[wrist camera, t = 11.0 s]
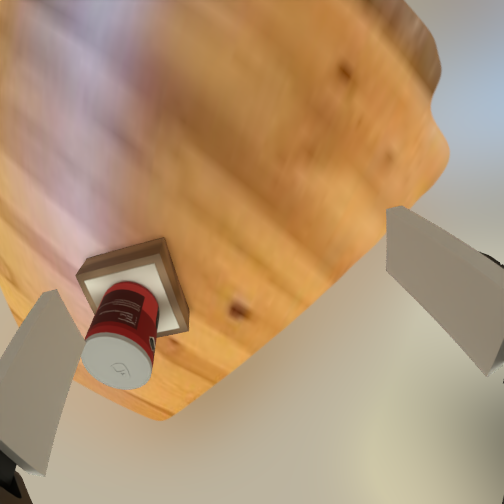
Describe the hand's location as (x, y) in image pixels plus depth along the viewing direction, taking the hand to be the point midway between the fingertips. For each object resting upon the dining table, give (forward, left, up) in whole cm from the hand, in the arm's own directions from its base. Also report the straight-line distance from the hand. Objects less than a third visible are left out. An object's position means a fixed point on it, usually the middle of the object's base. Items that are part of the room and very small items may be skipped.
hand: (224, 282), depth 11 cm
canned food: (+14, -14, -24) cm, 31 cm away
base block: (+14, -14, -29) cm, 35 cm away
